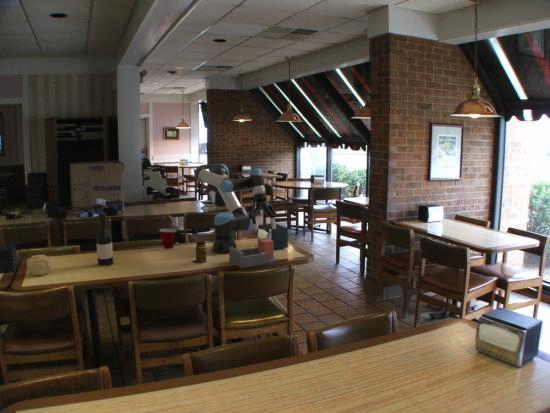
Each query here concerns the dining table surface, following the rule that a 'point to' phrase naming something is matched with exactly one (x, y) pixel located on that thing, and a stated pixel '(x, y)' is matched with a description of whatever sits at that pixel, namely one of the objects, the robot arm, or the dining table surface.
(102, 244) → the wine bottle
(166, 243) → the plastic cup
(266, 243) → the red block
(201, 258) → the condiment
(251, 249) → the grey open bin
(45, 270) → the sculpture
